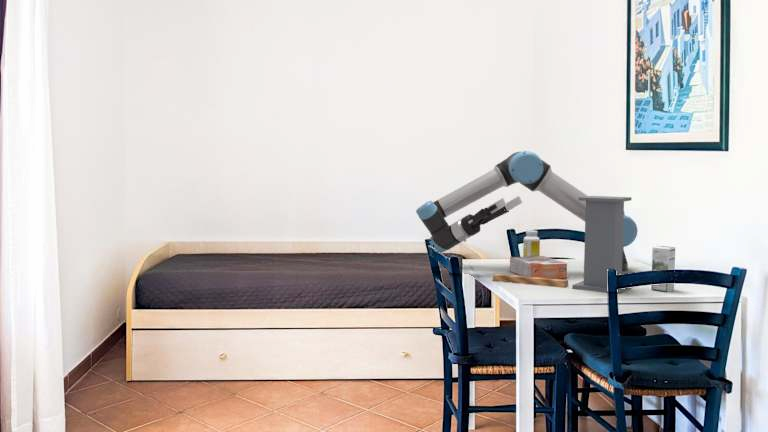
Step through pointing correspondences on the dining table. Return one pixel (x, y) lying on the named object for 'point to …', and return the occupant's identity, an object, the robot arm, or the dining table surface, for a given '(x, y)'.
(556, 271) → the cracker box
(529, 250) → the supplement bottle
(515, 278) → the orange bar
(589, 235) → the gray pedestal stand
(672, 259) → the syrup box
